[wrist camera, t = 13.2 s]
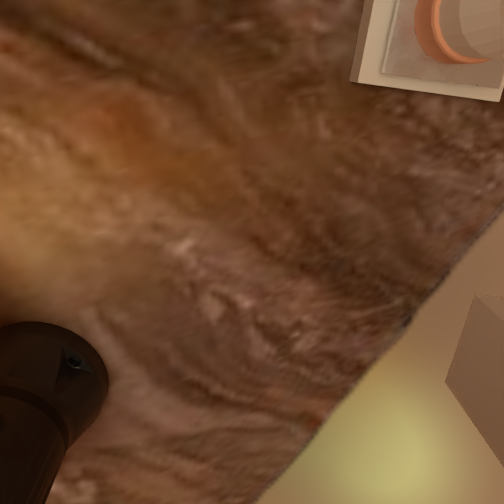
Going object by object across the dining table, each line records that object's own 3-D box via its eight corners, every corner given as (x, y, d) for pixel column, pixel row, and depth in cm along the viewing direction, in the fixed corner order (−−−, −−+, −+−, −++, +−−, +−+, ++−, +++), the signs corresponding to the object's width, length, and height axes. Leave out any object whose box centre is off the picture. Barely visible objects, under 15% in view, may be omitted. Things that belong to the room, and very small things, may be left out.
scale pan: (493, 88, 39) (499, 88, 39) (381, 72, 38) (384, 72, 38) (535, -47, 36) (541, -50, 35) (411, -69, 35) (415, -71, 34)
